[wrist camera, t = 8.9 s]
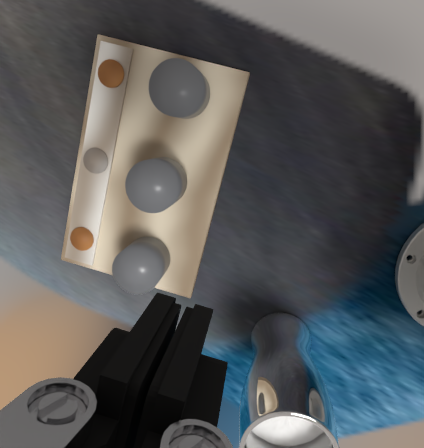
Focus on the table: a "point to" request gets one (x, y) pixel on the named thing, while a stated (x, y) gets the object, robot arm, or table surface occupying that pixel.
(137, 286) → the button
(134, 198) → the button middle
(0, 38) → the table surface
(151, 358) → the robot arm
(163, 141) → the button board
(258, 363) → the beer glass
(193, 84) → the button
